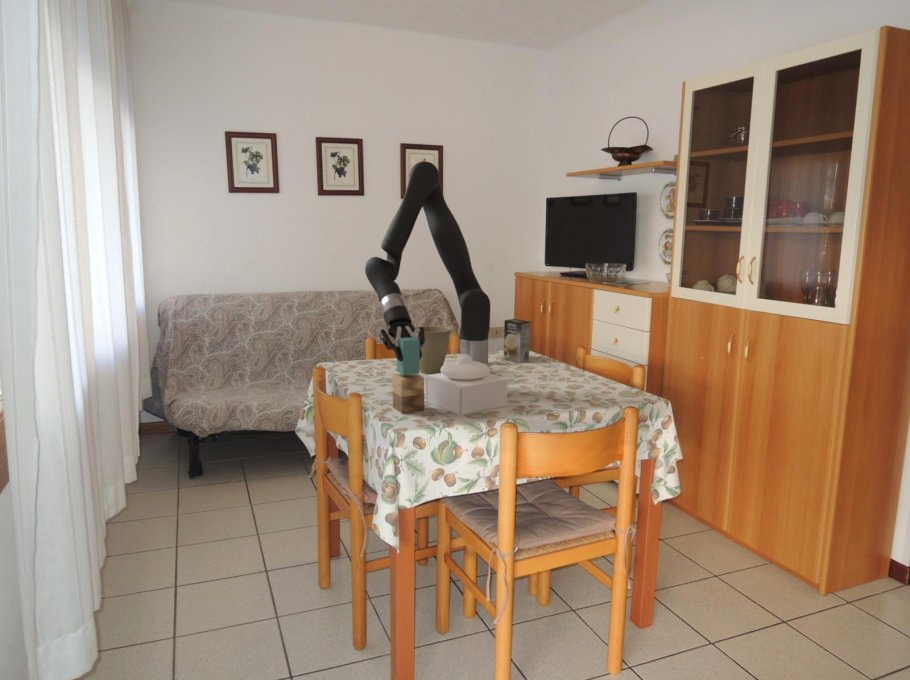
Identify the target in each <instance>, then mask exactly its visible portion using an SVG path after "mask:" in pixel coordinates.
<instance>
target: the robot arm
mask: <svg viewBox="0 0 910 680" xmlns="http://www.w3.org/2000/svg"><path fill="white" fill-rule="evenodd" d="M439 172H440V171H439V170H438V168H437V166H436V165H435V164H434V163H432V162H430V161H424V160H423V161H420V162H417V163H415V164H414V165H413V166H412V167H411V169H410V171H409V174H408V182H407V187H406V190H405V194H404V196H403V199H402V201H401V202H400V205H399V207H398V209H397V211H396V213H395V215H394V216H393V219H391V220H392V221H391V223H390V224H389V227H387V231H386V232H385V235H384V237H383V239H382V242H381V246H380V247H381V249H382V250H383V251H384V252H385V253H386V259H384V258H383V257H379V256H372V257H370V258H369V259H368V260H367V261H366V263H365V268H364V271H365V276H366V278H367V280H368V281H369V283H370V285H371V287H372V288H373V290H374V291H375V292H376V294H377V298H378V301H379V304H380V309H381V315H382V316H383V320H384V323H385V326H386V328H387V329H383V328H382V329H380V332H379V334H378V337H379V338H380V340H381V341H382V343H383V345H384V346H385V348H386V349H387V351H392V350H393V351H392V352H394V354H395V357H396V361H397V360H399V361H402V360H403V355H402V352H401V348H400V347H399V342H398V338H403V337H415V338H416V336H415V335H414V332H415V333H416V335H417V336H418V339H419V360H420V358H421V357H422V351H421V348H422V347H423V344H424V343H425V336H424V328H423V327H422V326H419V327H420V328H415V327H416V326H414V325H413V323H412V319H411V316H410V315H411V314H410V313H409V309H408V306H407V304H406V302H405V299H404V298H403V295H402V292H401V290H400V289H401V288H400V287H399V284H398V283H397V282H396V280H397V277H398V276H399V273H400V268H401V262H402V258H403V257H402V256H403V252H404V250H405V248H406V245H407V244H408V241H409V240H410V237H411V235H412V232H413V229H414V227H415V224H416V222H417V220H418V216H419V215H420V212H421V210H422V209H423V211H424V214H425V217H426V221H427V225H428V228H429V231H430V235H431V238H432V241H433V243H434V246H435V248H436V251H437V253H438V255H439V257H440V259H441V261H442V263H443V265H444V267H445V270H447V273H448V275H449V277H450V278H451V280H452V282H453V286H454V288H455V292H456V295H457V296H456V297H457V300H458V304H459V308H460V315H461V316H460V330H459V356H460V355H461V354H467V355H470V357H471V358H472V361H476V362H480V363H483V364H485V365H487V366H488V367H489V368H490V363H489V335H490V327H491V326H490V325H491V301H490V297H489V296H488V295H487V293H485V292H484V290H483V289H482V287H481V285H480V283H479V281H478V279H477V277H476V275H475V273H474V269H473V267H472V266H473V265H472V262H471V261H472V260H471V256H470V252H469V250H468V249H469V248H468V245H467V243H466V240H465V237H464V235H463V232H462V230H461V228H460V226H459V223H458V221H457V219H456V218H455V216H454V215H453V213H452V211H451V209H450V208H449V206H448V204H447V202H446V200H445V197H444V194H443V191H442V190H443V189H442V188H441V184H440V173H439ZM390 337H391V338H392V339H393V341H392V339H391V338H390Z"/></svg>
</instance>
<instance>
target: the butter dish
mask: <svg viewBox="0 0 910 680" xmlns="http://www.w3.org/2000/svg"><path fill="white" fill-rule="evenodd" d="M490 372H491V368H490V366H489V367H488V366H487V365H485V364H483V363H480V362H476V361H472V358H471V357H470V355H467V354H461V355H460V354H459V356H458V357H457V359H456V360H454V361H448V362H446V363H444V364H443V366H442V367H441V369H440V372H439V373H436V374H427V375H426V376H425V403H427V404H429V405H431V406H434V407H436V408H439V409H441V408H442V409H441V410H444V411H446V410H447V412H449V411H450V412H449V413H451V412H452V413H453V414H454V413H455V414H454V415H456V414H457V415H456V416H460V417H461V416H466V415H472V414H478V413H482V412H487V411H492V410H496V409H501V408H507V407H508V382H509V379H508V378H506V377H503V376H500V375H497V374H492V373H490Z"/></svg>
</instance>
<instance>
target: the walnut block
mask: <svg viewBox="0 0 910 680" xmlns="http://www.w3.org/2000/svg"><path fill="white" fill-rule="evenodd" d="M392 408H393V409H395V410H396V411H398V412H399V413H401V414H409V412H410V413H415V412H416V413H418V412H424V411H425V393H424V394H423V395H414V396H405V397H401V396H399V395H398V394H396V393H395V392H393V391H392ZM417 411H418V412H417Z"/></svg>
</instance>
